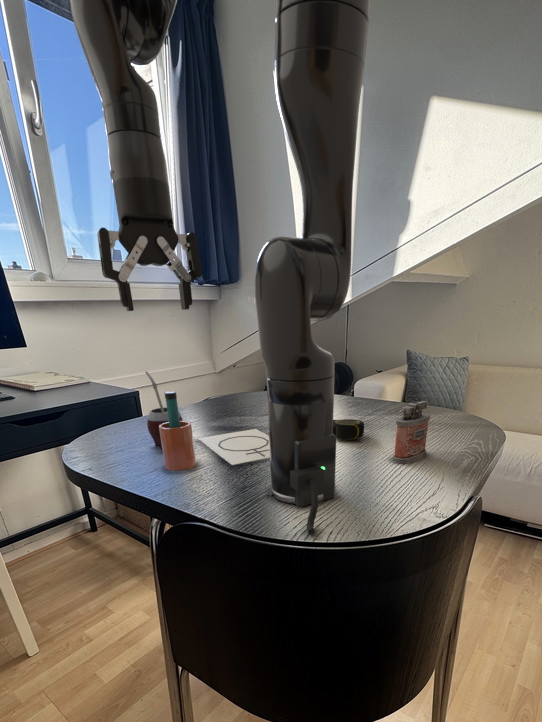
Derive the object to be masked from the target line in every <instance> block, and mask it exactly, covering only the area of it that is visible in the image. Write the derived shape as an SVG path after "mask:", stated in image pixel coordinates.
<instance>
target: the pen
mask: <svg viewBox="0 0 542 722" xmlns="http://www.w3.org/2000/svg"><path fill="white" fill-rule="evenodd" d="M177 396H178V395H177V392H176V391H173V390H171V391H166V392H164V399H165V404H166V405H165V406H166V407H167V411H168V418H169V425H170V428H178V427H180V420H179V413H178V411H179V406H178V397H177Z"/></svg>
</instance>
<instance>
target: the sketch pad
mask: <svg viewBox="0 0 542 722" xmlns="http://www.w3.org/2000/svg"><path fill="white" fill-rule="evenodd" d="M197 439H198V440H199V441H200V442H202V443H203V444H204V445H205V446H207V447H208V448H209V449H211V450H212V451H213V452H214V453H216V454H217V456H219V457H220V458H222V459H223V460H224V461H226V462H227V463H228V464H230V465H231V466H235V465H240V464H245V463H250V462H255V461H261V460H264V459H270V447H269V434H266V433H265V432H263V431H262V430H259V429H257V428H252V429H247V430H241V431H234V432H228V433H222V434H217V435H216V434H215V435H211V436H205V437H199V438H197Z"/></svg>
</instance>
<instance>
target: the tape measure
mask: <svg viewBox="0 0 542 722" xmlns="http://www.w3.org/2000/svg"><path fill="white" fill-rule="evenodd" d="M364 433H365V423H364V422H363V421H362V420H359V419H350V418H346V419H345V418H344V419H333V435H335V436H336V439H339V440H345V441H354V440H356V439H360V438H362V437H363V436H364Z"/></svg>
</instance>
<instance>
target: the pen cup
mask: <svg viewBox="0 0 542 722" xmlns="http://www.w3.org/2000/svg"><path fill="white" fill-rule="evenodd" d="M192 429H193V428H192V423H191V422H190V421H187V420H183V421H180V427H178V428H170V425H169V422H166V423H163V424H160V425H159V431H160V437H161V444H162V447H161V450H163V451H162V455H163V462H164V467H165V469H166V470H168V471H174V472H179V471H186V470H190V469H192V468H194V467H196V465H197V460H196V453H195V452H196V451H195V445H194V436H193V430H192Z"/></svg>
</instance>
